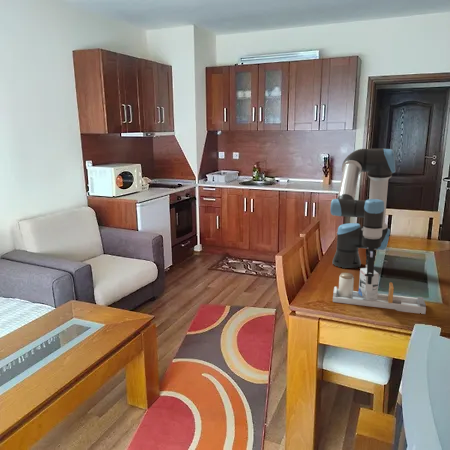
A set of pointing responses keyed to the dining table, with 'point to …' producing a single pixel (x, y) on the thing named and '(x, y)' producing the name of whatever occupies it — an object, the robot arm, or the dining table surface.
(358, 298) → the tray
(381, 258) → the dining table surface
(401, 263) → the dining table surface
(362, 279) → the ink box
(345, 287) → the jar
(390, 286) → the pusher
